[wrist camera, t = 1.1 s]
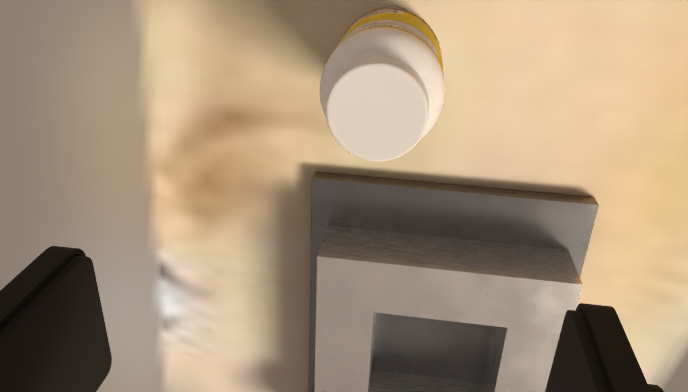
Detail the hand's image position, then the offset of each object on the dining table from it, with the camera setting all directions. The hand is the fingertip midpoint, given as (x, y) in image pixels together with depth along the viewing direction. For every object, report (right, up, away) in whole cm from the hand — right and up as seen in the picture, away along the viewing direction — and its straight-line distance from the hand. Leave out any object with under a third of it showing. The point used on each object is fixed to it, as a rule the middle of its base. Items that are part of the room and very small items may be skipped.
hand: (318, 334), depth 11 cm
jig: (+6, -6, +27) cm, 28 cm away
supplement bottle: (+3, +10, +20) cm, 22 cm away
